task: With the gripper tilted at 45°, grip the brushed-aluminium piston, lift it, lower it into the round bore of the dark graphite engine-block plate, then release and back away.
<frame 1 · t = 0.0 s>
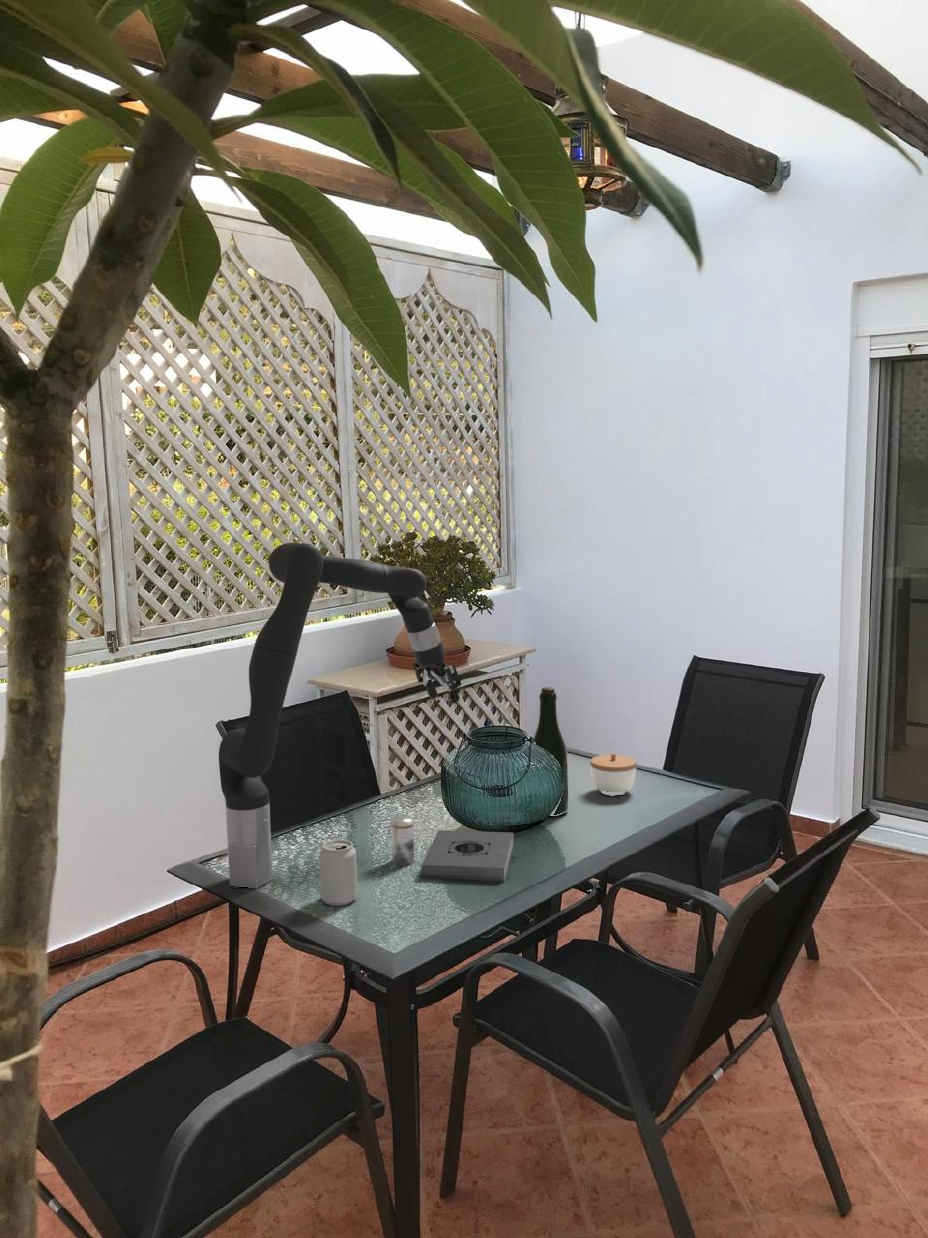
hand: (444, 699, 244), 31 cm above the table, tool tilted 20°, fingers open, 8 cm apart
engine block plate: (469, 860, 220), on the table
lidded bowl: (613, 793, 269), on the table
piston: (403, 861, 220), on the table
dark wine bottle: (548, 812, 253), on the table
can: (339, 900, 200), on the table
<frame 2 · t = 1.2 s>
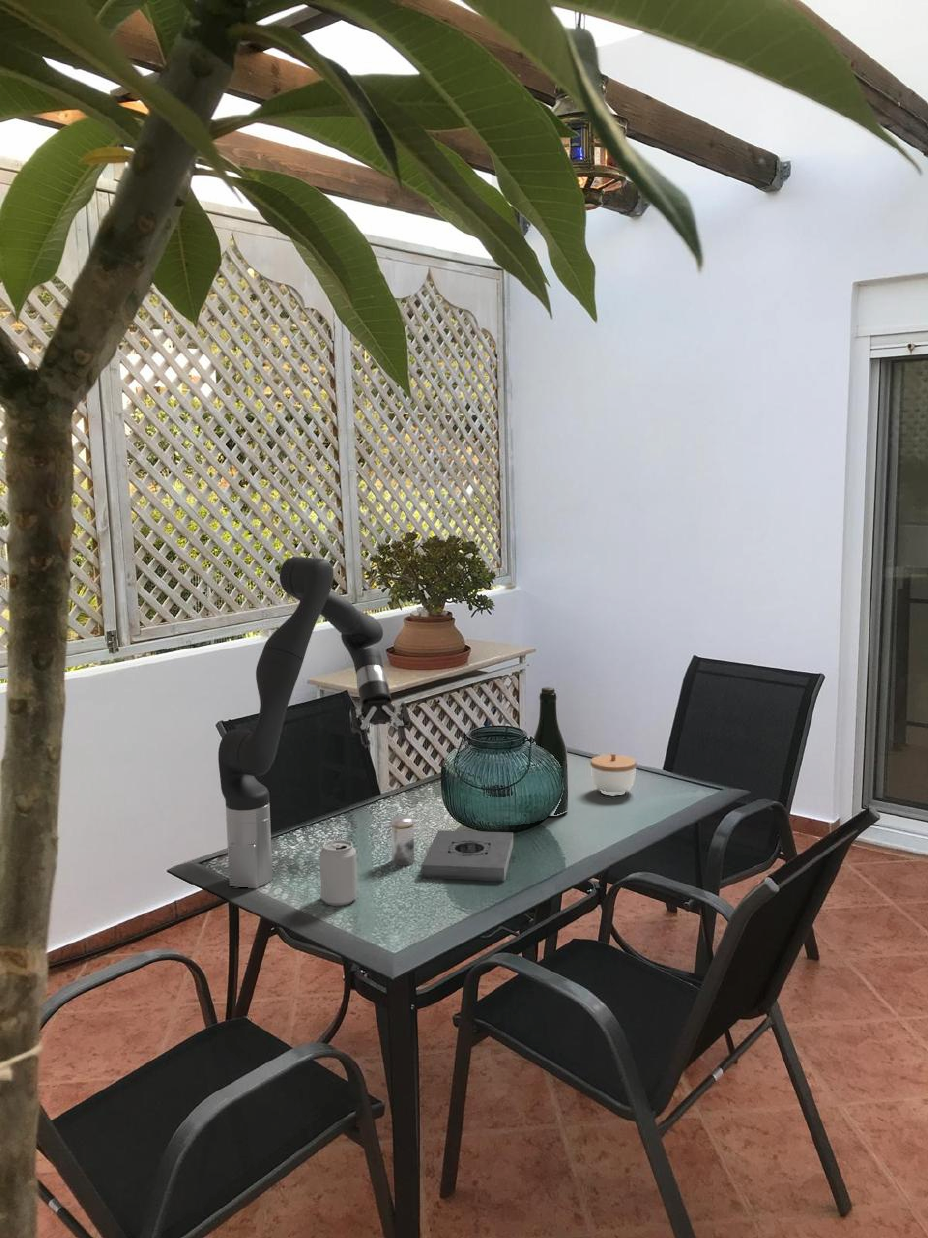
hand: (384, 744, 229), 24 cm above the table, tool tilted 45°, fingers open, 8 cm apart
nothing on the table moved.
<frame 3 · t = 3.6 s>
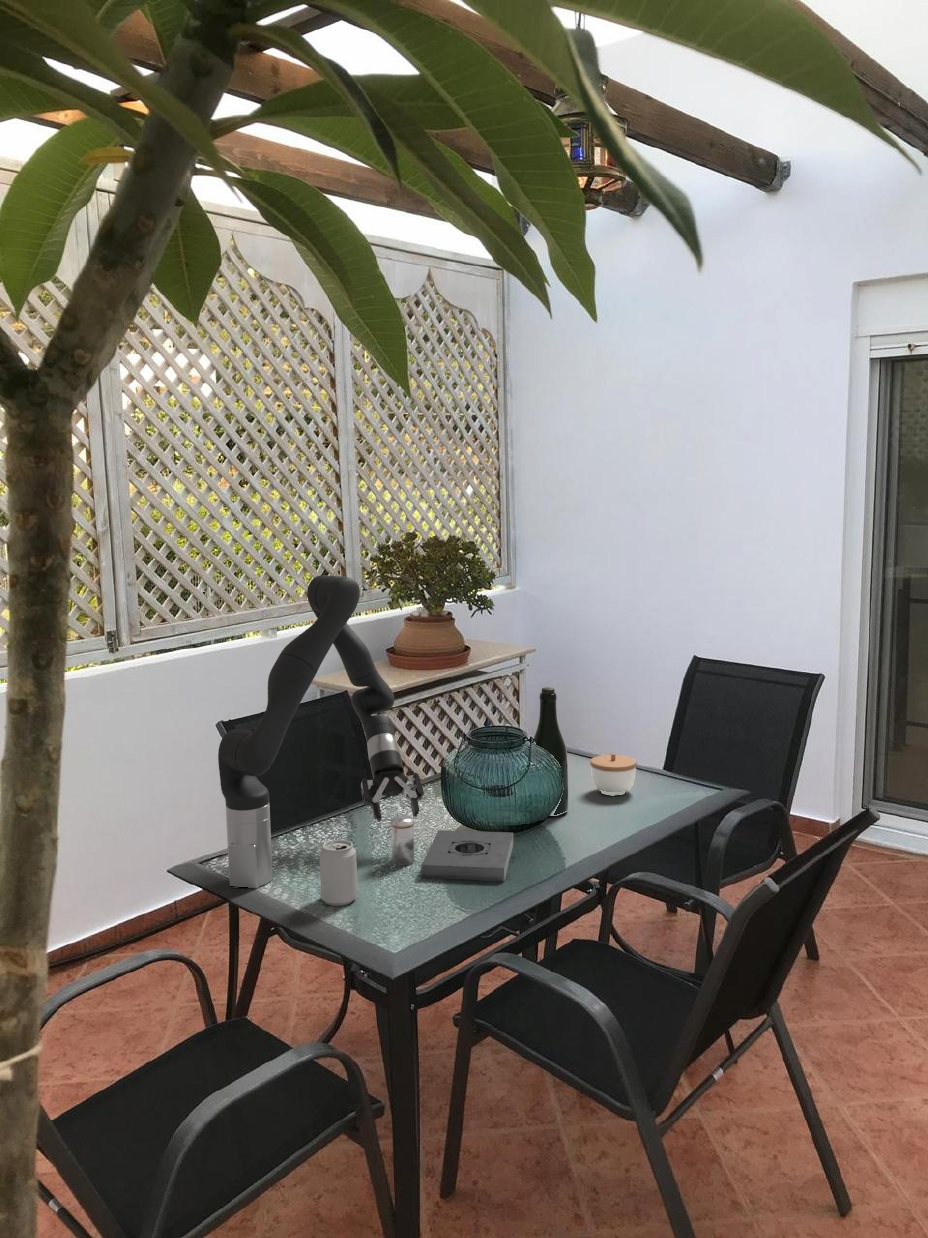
hand: (397, 817, 223), 9 cm above the table, tool tilted 45°, fingers open, 8 cm apart
nothing on the table moved.
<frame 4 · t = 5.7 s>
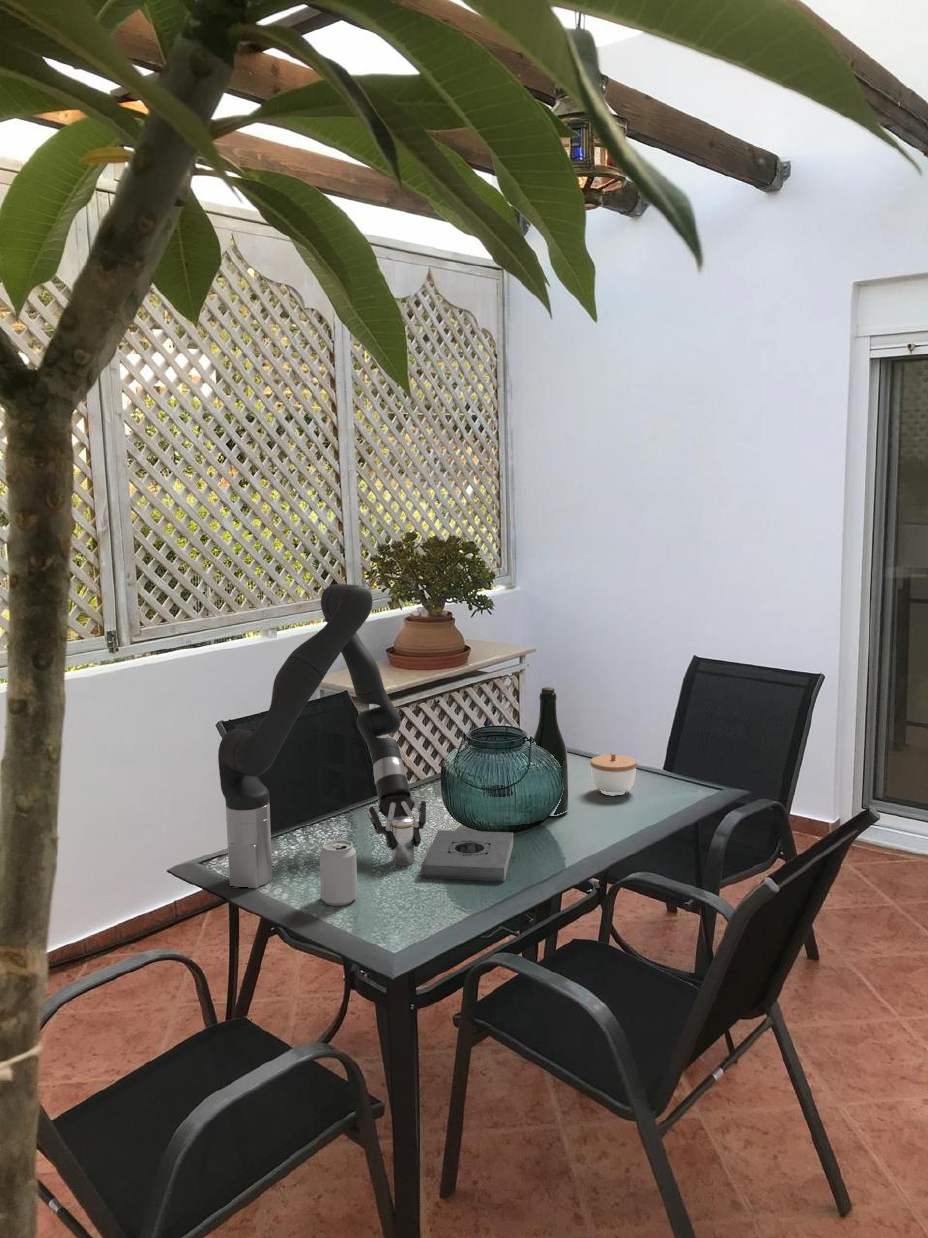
hand: (405, 846, 218), 4 cm above the table, tool tilted 45°, fingers closed on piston, 5 cm apart
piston: (403, 861, 220), on the table, touching gripper
everything else where it was.
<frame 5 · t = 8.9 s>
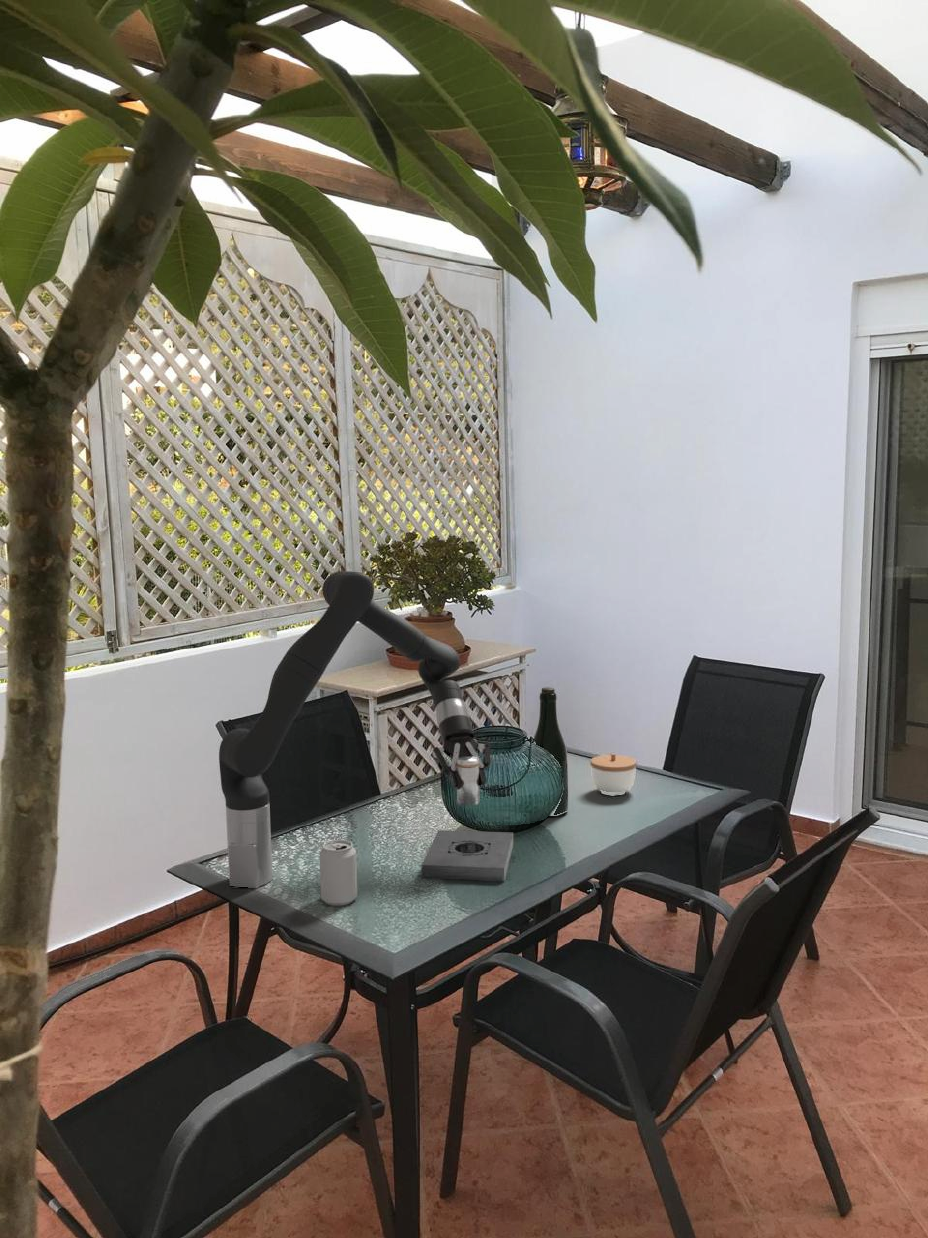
hand: (470, 786, 216), 18 cm above the table, tool tilted 45°, fingers closed on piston, 5 cm apart
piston: (468, 802, 219), point 14 cm above the table, touching gripper
everything else where it was.
when the fingers open (6 cm above the table, at t = 12.2 s): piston drops 1 cm, resting in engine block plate.
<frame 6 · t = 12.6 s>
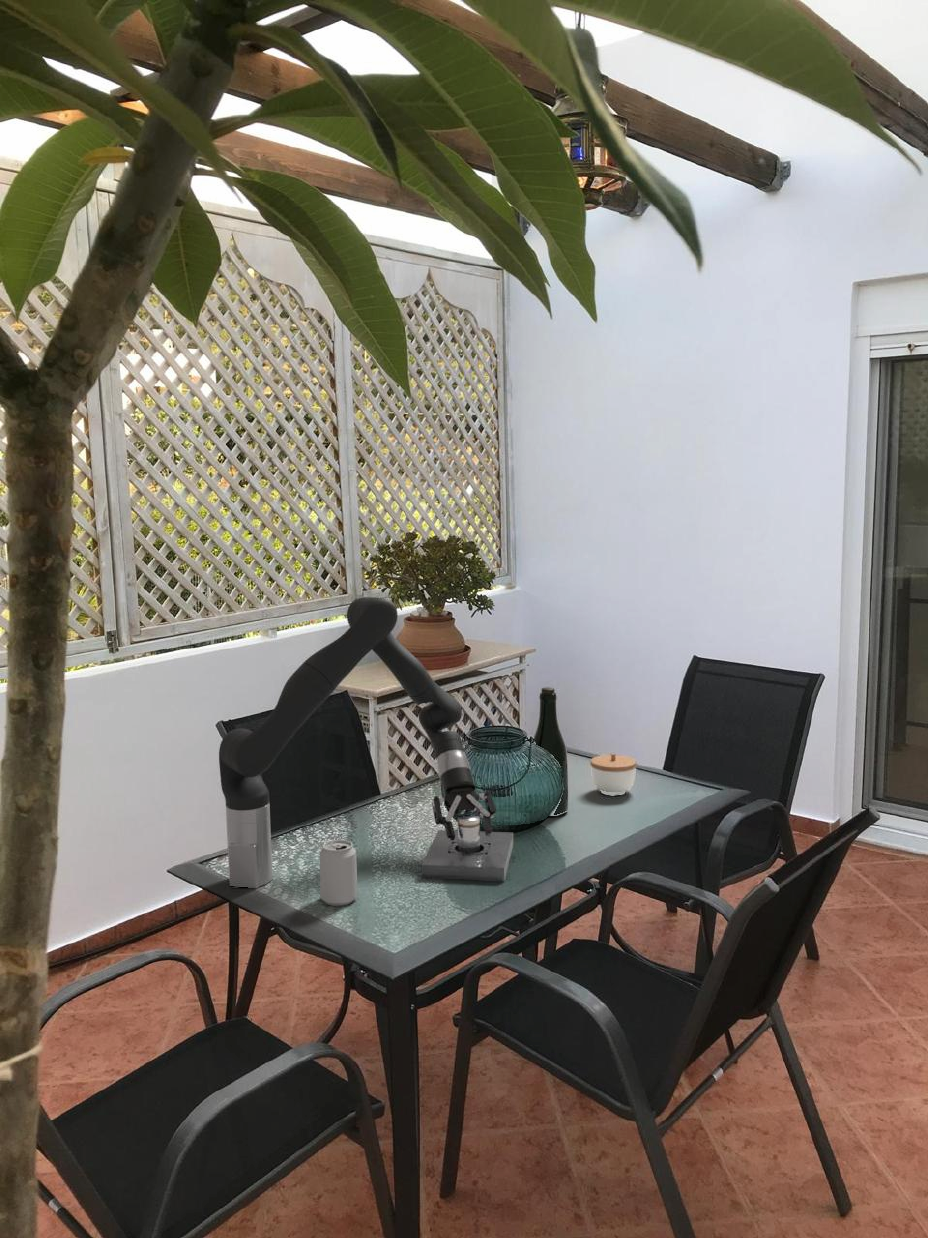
hand: (471, 836, 218), 6 cm above the table, tool tilted 45°, fingers open, 8 cm apart
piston: (469, 860, 220), resting in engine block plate
everything else where it was.
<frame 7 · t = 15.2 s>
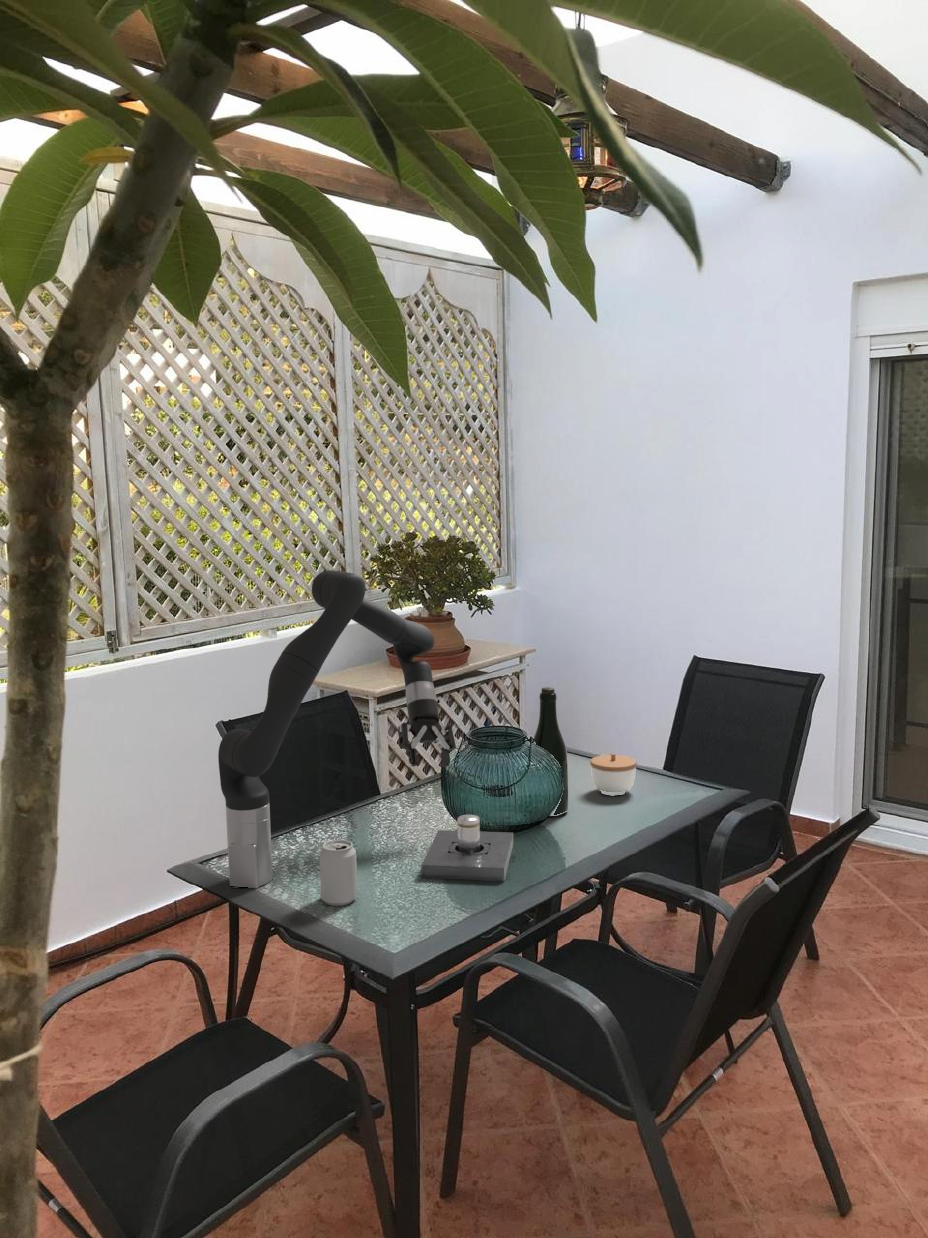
hand: (430, 765, 232), 18 cm above the table, tool tilted 35°, fingers open, 8 cm apart
nothing on the table moved.
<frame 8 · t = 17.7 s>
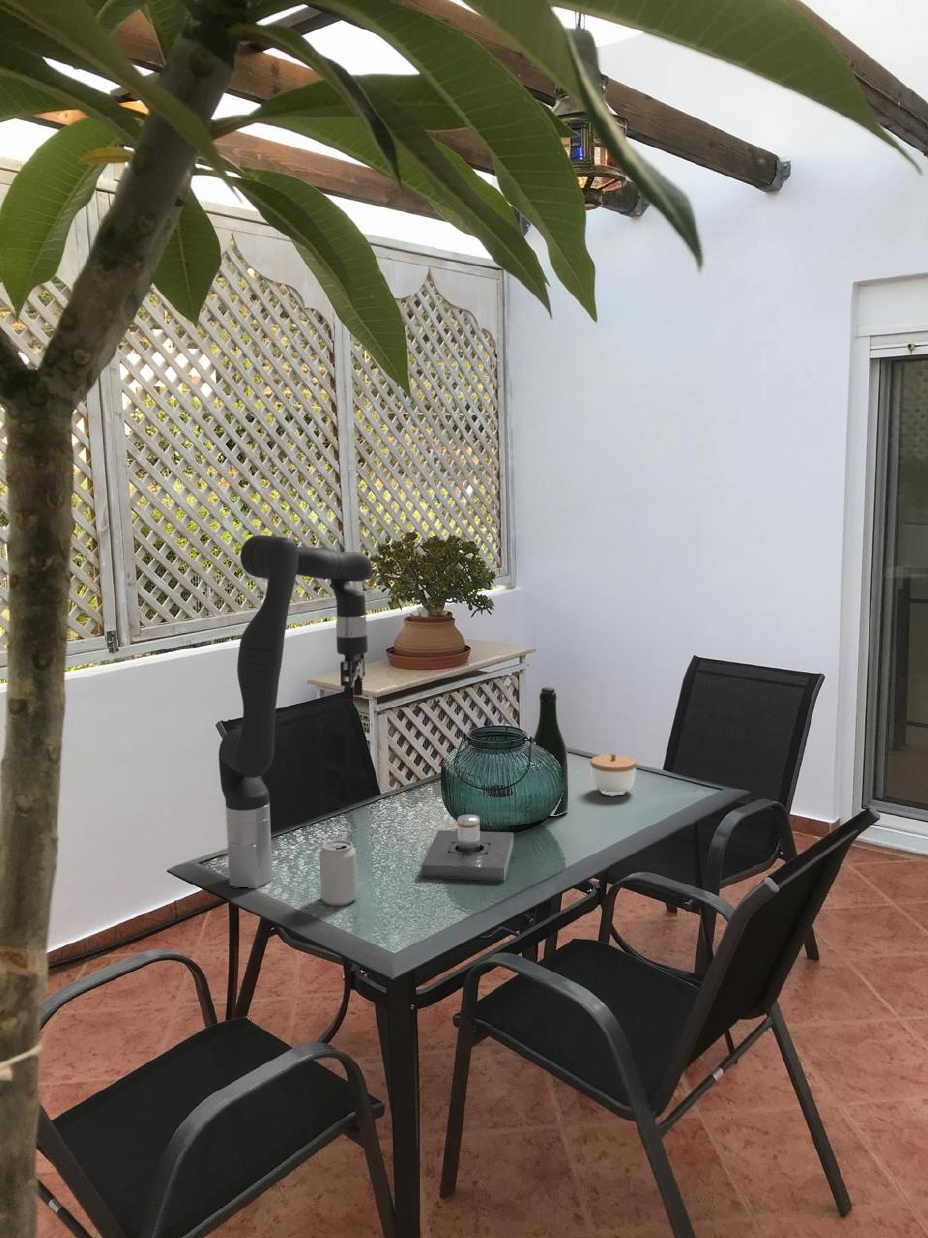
hand: (353, 698, 239), 33 cm above the table, tool pointing down, fingers open, 8 cm apart
nothing on the table moved.
at the end: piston 0.1 cm off-centre on the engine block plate, point 0.0 cm above the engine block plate's base; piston tilted 0°; the gripper is holding nothing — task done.
